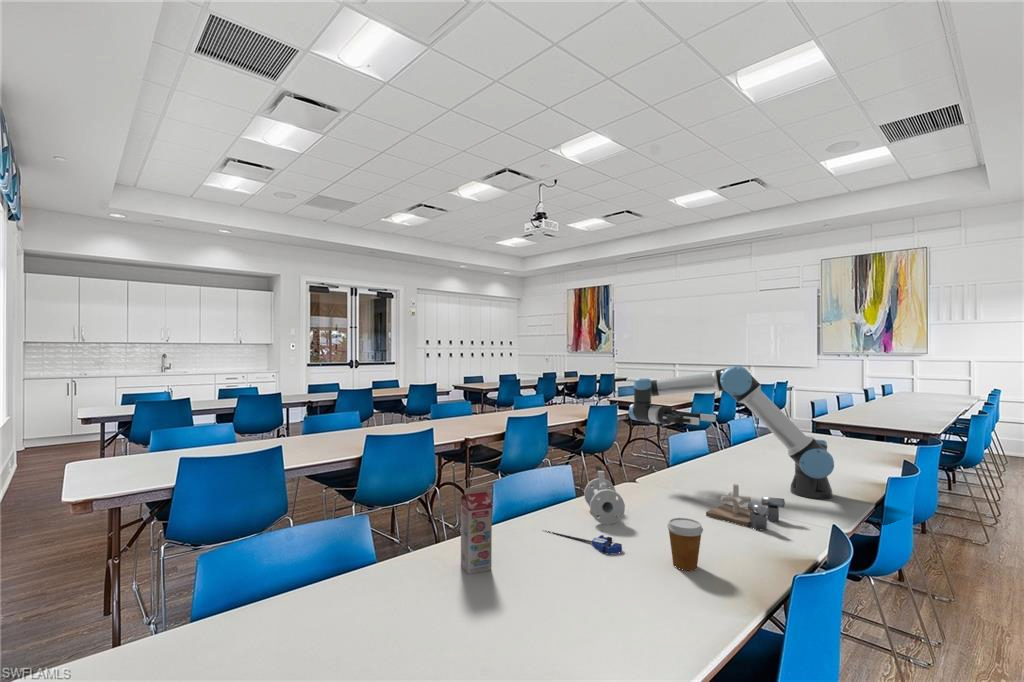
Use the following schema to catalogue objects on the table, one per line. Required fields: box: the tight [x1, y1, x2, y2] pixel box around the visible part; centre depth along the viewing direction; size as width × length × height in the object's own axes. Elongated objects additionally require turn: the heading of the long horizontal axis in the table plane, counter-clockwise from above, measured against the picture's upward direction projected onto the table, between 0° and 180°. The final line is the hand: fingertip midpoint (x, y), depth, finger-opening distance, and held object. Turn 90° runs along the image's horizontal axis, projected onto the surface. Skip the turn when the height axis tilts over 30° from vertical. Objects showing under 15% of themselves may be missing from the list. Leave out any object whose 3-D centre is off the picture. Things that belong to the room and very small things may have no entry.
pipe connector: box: [720, 483, 752, 513], centre depth 180 cm, size 10×10×10 cm
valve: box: [584, 465, 626, 526], centre depth 182 cm, size 22×12×15 cm, turn 179°
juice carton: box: [460, 485, 493, 575], centre depth 137 cm, size 7×7×22 cm
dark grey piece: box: [747, 501, 769, 531], centre depth 168 cm, size 7×4×8 cm, turn 11°
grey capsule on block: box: [761, 496, 786, 524], centre depth 176 cm, size 7×4×8 cm, turn 71°
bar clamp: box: [543, 530, 623, 555], centre depth 159 cm, size 32×2×10 cm
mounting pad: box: [705, 503, 753, 527], centre depth 180 cm, size 15×15×2 cm
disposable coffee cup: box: [666, 517, 704, 571], centre depth 138 cm, size 10×10×12 cm
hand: (707, 420), depth 202 cm, fingers open, 13 cm apart
